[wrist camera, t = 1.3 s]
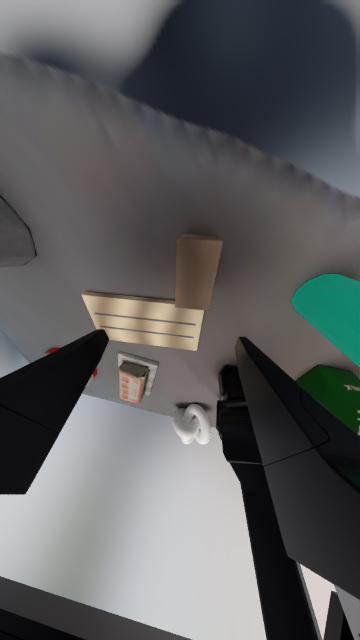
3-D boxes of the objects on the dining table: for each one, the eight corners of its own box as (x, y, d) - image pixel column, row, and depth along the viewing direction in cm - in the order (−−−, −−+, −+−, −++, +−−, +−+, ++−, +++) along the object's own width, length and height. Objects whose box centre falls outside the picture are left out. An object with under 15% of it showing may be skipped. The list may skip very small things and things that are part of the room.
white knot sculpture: (195, 396, 40) (194, 434, 33) (218, 411, 44) (222, 447, 37) (170, 404, 46) (165, 437, 38) (193, 416, 50) (192, 448, 43)
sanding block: (216, 236, 15) (223, 241, 11) (206, 291, 20) (208, 310, 15) (183, 234, 16) (176, 238, 11) (180, 289, 20) (174, 307, 15)
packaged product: (145, 408, 39) (112, 399, 38) (150, 391, 43) (120, 383, 42) (154, 379, 28) (108, 367, 27) (159, 360, 32) (120, 349, 31)
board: (204, 303, 21) (204, 307, 20) (196, 346, 27) (196, 350, 26) (86, 291, 22) (81, 294, 21) (104, 334, 28) (100, 338, 27)
